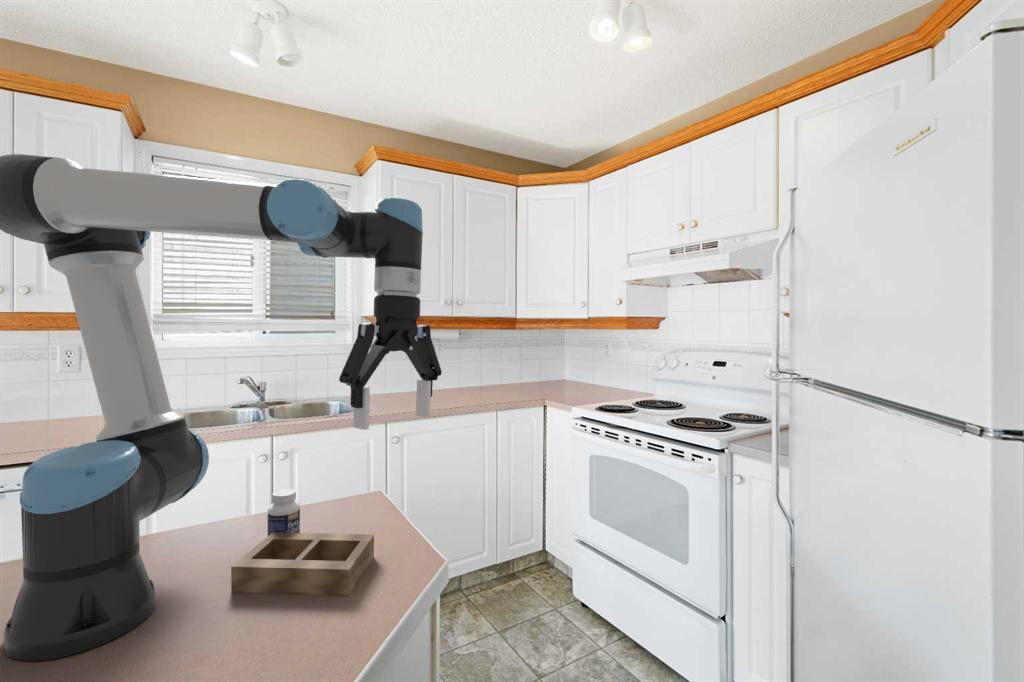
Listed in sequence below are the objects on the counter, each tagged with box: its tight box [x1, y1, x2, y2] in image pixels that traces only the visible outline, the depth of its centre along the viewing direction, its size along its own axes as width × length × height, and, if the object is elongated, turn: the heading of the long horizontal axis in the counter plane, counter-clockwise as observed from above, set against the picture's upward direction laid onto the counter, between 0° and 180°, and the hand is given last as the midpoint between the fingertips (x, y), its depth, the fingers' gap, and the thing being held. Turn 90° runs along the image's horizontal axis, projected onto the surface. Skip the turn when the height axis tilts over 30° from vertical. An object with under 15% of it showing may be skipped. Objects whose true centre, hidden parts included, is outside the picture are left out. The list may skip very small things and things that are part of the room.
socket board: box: [230, 532, 375, 597], centre depth 78 cm, size 18×12×4 cm, turn 89°
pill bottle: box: [267, 488, 301, 537], centre depth 88 cm, size 5×5×10 cm
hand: (394, 422), depth 80 cm, fingers open, 13 cm apart
